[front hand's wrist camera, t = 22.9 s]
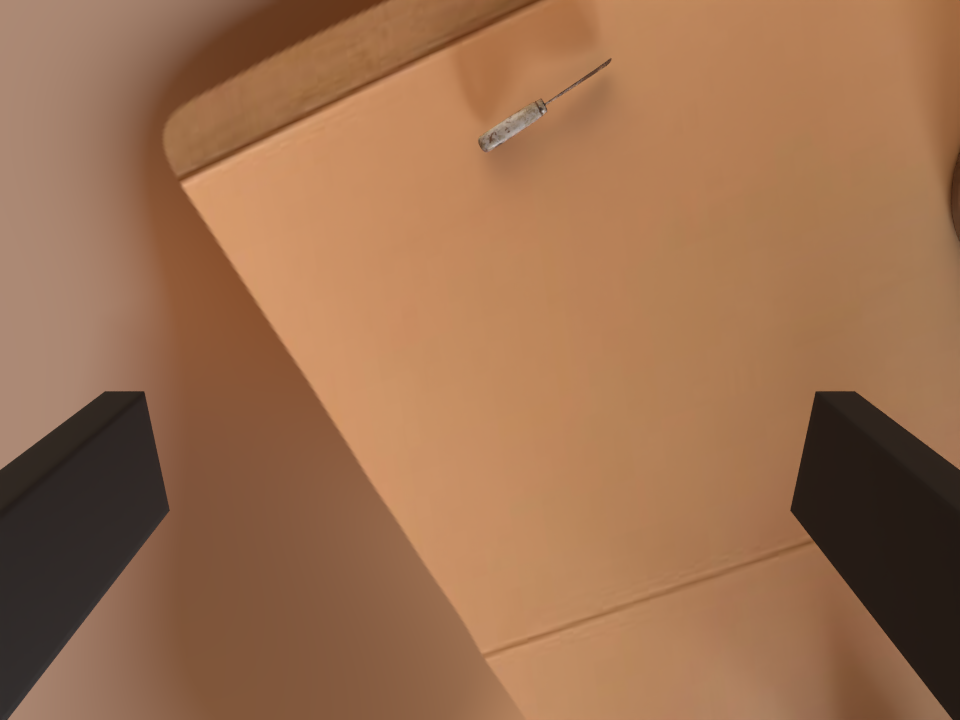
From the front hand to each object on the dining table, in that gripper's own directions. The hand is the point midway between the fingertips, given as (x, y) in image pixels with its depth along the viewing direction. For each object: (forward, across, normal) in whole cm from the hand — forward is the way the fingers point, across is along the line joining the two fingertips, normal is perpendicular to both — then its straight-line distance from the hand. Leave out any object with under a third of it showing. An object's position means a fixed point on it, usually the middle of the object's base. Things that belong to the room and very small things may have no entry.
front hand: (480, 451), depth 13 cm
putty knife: (+26, +3, +7) cm, 27 cm away
